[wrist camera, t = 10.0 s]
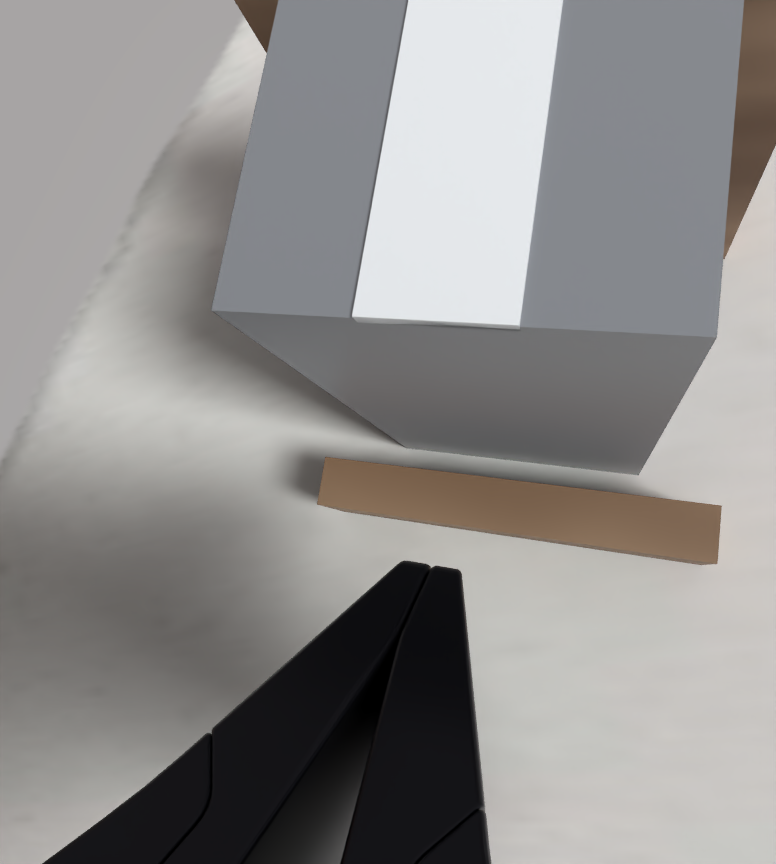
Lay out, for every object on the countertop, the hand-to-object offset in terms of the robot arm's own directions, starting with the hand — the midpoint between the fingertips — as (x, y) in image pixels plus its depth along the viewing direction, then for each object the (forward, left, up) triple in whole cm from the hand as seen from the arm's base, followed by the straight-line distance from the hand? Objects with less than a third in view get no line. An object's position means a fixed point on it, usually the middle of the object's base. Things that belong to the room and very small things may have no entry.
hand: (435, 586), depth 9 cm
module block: (+5, -1, -8) cm, 10 cm away
